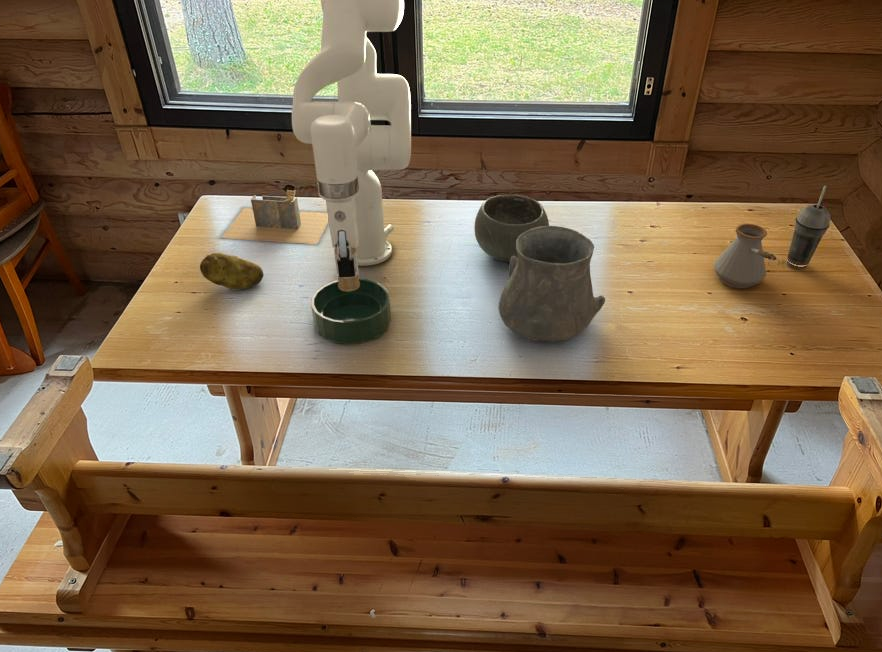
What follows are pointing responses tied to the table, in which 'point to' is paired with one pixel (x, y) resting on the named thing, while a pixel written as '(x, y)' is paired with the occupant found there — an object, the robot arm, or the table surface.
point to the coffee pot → (744, 258)
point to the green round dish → (351, 312)
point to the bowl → (506, 223)
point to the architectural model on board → (277, 221)
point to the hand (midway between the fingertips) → (347, 268)
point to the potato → (230, 271)
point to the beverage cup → (808, 233)
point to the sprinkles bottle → (348, 282)
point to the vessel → (550, 285)
